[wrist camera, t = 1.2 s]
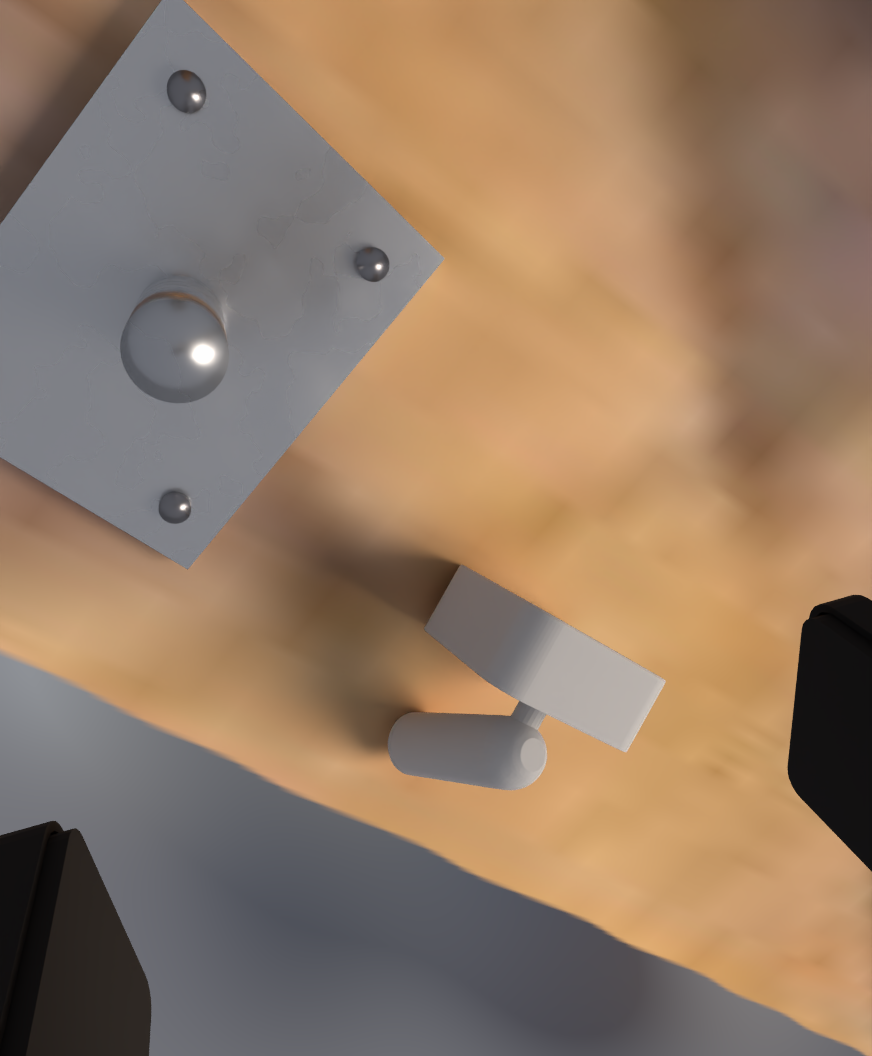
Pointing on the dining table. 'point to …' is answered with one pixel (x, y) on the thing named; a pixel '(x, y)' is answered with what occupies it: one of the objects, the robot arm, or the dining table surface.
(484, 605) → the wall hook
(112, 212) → the keeper
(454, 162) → the dining table surface
